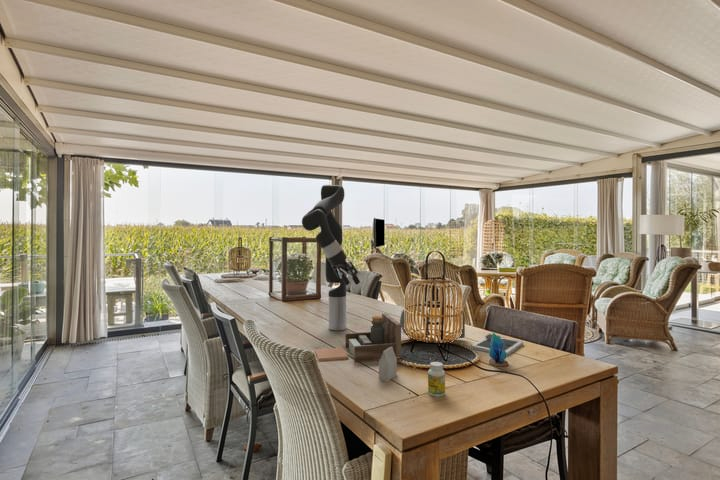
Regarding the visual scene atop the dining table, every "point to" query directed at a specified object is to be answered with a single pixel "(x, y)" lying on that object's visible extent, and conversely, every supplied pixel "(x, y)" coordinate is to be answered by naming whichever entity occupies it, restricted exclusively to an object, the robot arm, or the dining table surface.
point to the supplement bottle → (436, 379)
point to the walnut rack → (375, 351)
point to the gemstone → (497, 352)
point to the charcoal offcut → (364, 340)
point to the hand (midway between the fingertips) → (353, 283)
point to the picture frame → (508, 346)
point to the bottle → (377, 330)
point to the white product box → (388, 365)
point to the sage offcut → (353, 343)
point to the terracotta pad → (331, 354)
